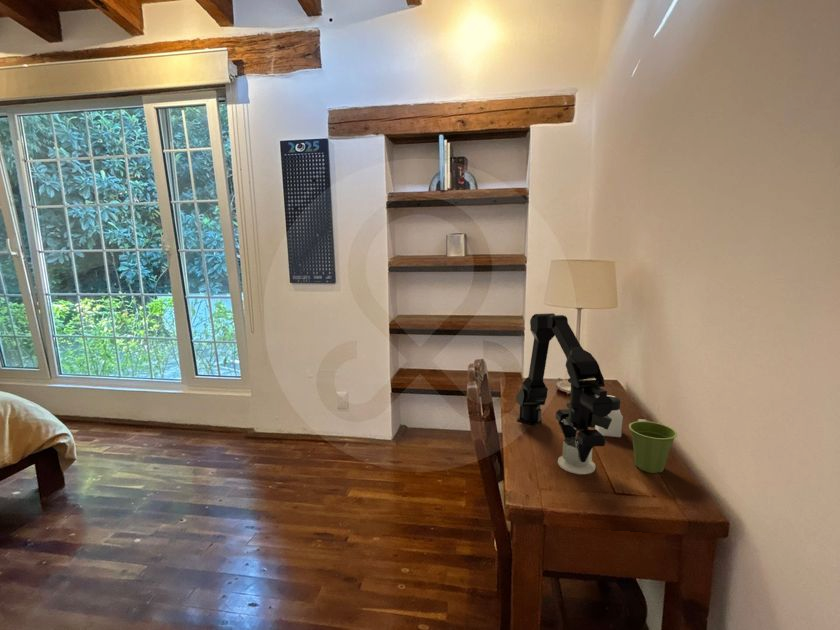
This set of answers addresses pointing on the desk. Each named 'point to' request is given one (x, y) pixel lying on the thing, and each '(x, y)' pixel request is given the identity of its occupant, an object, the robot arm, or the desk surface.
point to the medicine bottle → (613, 420)
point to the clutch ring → (573, 452)
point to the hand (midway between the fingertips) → (576, 455)
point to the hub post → (576, 467)
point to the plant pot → (651, 444)
